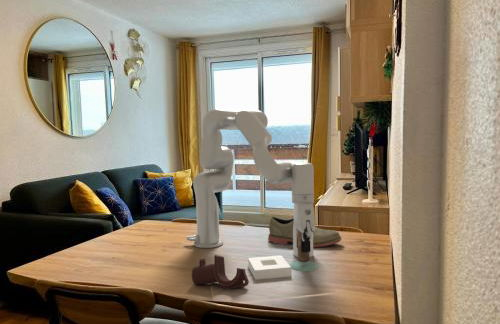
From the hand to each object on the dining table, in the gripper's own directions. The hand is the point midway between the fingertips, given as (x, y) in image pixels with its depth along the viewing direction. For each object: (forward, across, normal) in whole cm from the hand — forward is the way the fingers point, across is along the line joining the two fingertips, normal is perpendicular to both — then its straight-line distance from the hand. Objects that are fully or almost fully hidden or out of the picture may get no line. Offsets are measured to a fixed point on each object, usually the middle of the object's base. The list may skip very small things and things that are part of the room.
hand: (303, 249), depth 123 cm
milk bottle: (+7, +12, -4) cm, 14 cm away
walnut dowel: (+4, 0, 0) cm, 4 cm away
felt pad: (+6, 0, 0) cm, 6 cm away
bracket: (+7, -9, +30) cm, 32 cm away
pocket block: (+6, -2, +13) cm, 15 cm away
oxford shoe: (+7, +27, -9) cm, 30 cm away
